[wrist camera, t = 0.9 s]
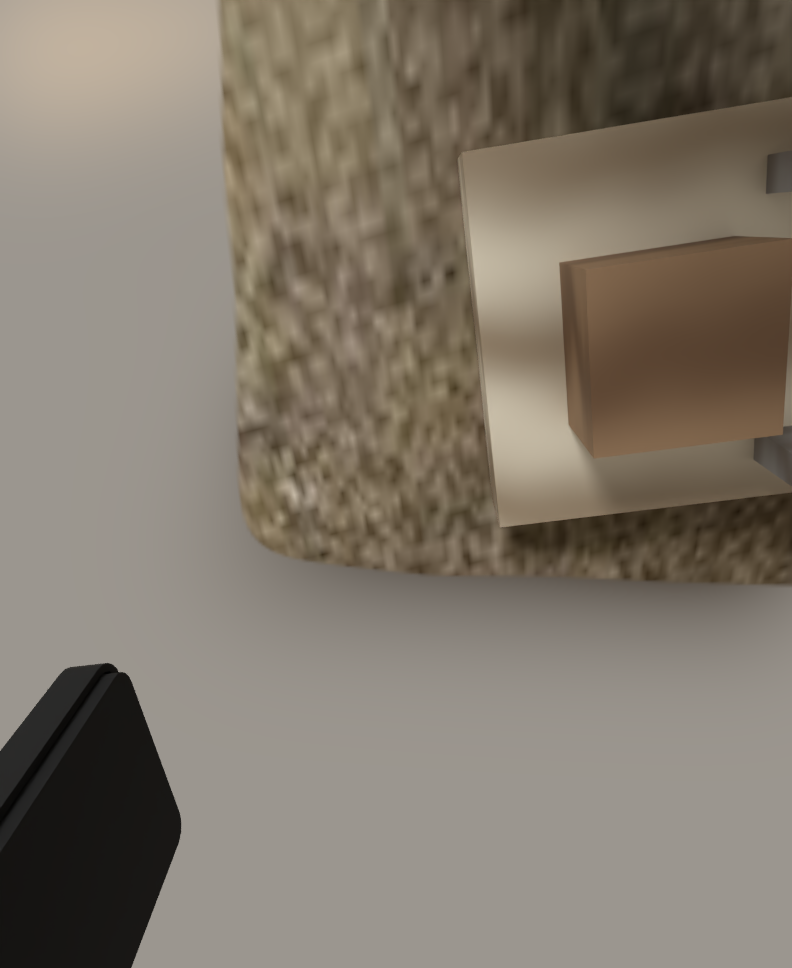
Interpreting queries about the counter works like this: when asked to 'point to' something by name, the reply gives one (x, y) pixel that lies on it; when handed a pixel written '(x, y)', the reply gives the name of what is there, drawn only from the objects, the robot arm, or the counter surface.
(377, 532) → the counter surface
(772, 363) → the walnut block
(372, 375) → the counter surface
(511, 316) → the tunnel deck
